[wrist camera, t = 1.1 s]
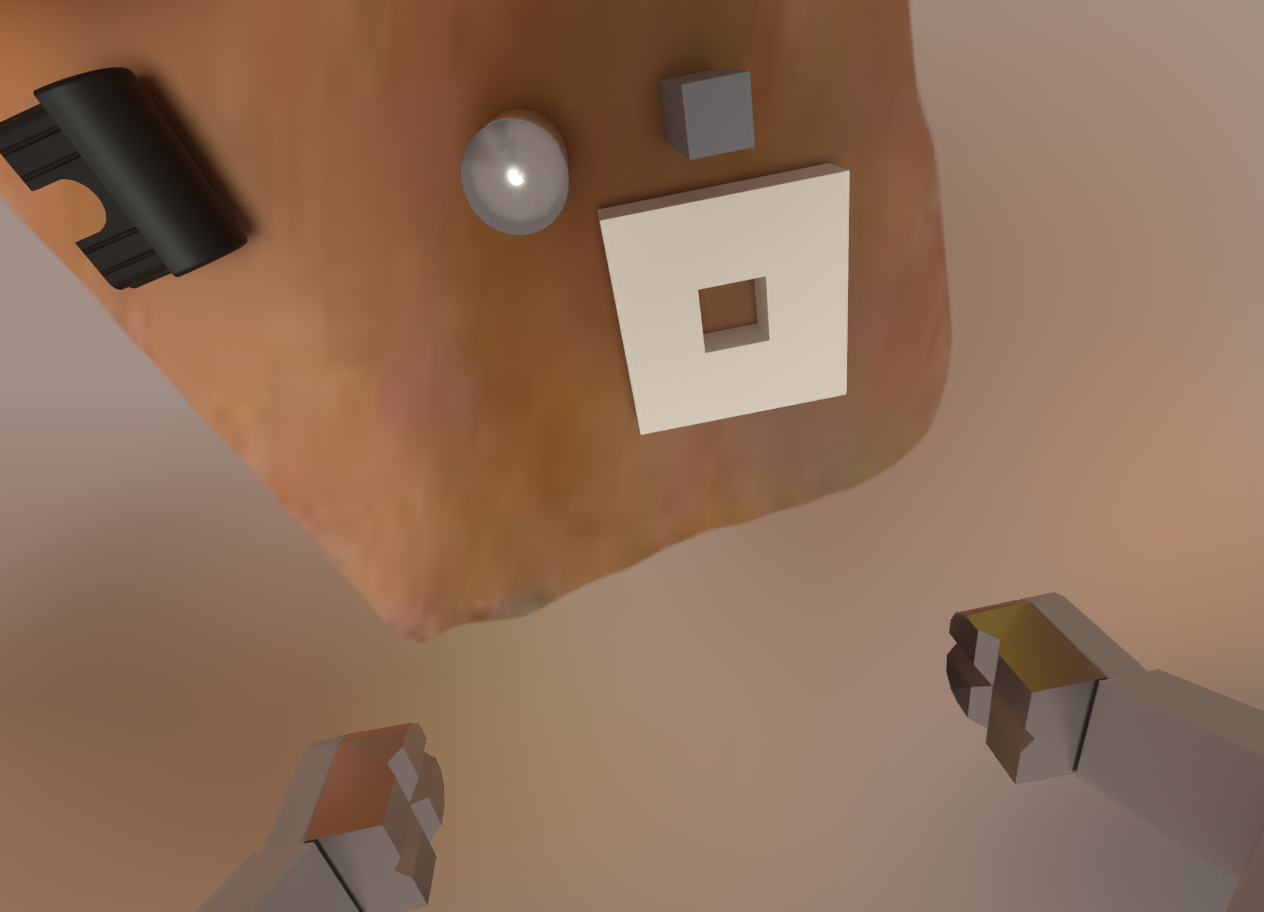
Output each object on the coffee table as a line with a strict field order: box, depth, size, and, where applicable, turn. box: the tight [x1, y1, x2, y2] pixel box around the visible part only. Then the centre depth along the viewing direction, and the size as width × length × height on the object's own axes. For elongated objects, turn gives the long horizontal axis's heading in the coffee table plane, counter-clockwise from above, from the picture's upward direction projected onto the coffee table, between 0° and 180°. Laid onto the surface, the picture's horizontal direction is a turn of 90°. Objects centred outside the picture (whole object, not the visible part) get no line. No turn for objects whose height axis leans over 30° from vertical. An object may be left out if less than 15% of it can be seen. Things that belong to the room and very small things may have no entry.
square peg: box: [659, 69, 755, 160], centre depth 36 cm, size 4×4×9 cm
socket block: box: [597, 163, 850, 435], centre depth 46 cm, size 16×16×4 cm
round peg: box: [461, 108, 569, 235], centre depth 37 cm, size 6×6×9 cm
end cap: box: [0, 67, 247, 290], centre depth 37 cm, size 10×7×7 cm
